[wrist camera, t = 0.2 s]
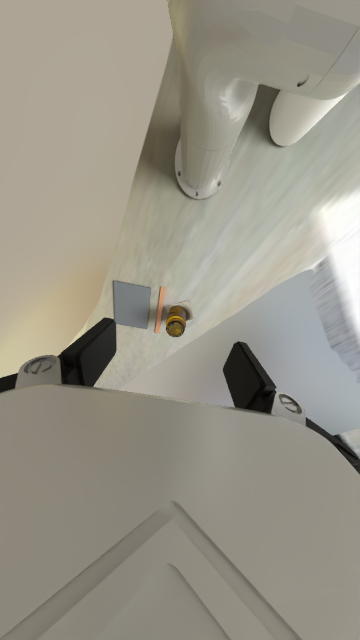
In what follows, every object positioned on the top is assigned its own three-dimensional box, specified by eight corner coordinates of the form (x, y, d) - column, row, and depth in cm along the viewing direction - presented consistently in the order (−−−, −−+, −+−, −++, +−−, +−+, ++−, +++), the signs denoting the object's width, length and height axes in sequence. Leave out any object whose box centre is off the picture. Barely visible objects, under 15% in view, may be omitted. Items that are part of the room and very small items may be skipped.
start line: (161, 286, 45) (160, 287, 44) (165, 287, 45) (165, 287, 45) (155, 332, 53) (155, 332, 53) (159, 332, 53) (158, 333, 53)
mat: (114, 280, 44) (113, 281, 44) (151, 287, 45) (150, 288, 45) (115, 322, 52) (115, 323, 51) (147, 328, 52) (146, 329, 52)
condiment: (165, 306, 48) (159, 322, 37) (188, 300, 47) (189, 314, 36) (171, 324, 51) (168, 343, 41) (193, 318, 50) (196, 336, 39)
